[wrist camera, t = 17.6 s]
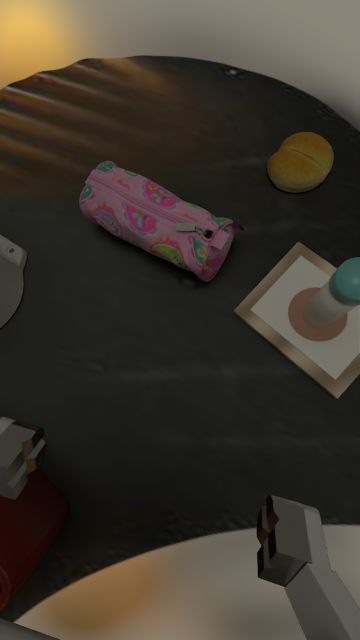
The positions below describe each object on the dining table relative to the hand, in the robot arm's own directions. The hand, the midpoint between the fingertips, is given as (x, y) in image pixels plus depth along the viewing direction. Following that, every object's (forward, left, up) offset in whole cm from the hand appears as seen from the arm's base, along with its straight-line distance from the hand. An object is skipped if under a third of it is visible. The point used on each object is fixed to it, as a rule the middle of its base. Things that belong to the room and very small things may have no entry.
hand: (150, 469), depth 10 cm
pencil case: (-21, +15, -28) cm, 38 cm away
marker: (+2, +19, -26) cm, 33 cm away
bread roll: (-14, +35, -28) cm, 47 cm away
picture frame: (+2, +19, -28) cm, 34 cm away
